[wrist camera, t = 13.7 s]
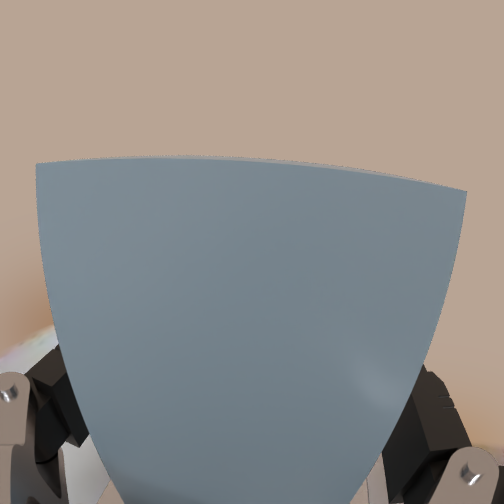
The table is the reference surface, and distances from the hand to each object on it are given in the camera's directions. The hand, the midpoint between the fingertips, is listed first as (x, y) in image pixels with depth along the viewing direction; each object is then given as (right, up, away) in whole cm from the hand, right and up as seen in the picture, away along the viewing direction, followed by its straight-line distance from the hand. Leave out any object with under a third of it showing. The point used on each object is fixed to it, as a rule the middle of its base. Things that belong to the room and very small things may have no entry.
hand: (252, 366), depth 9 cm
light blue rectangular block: (-1, -9, +1) cm, 10 cm away
